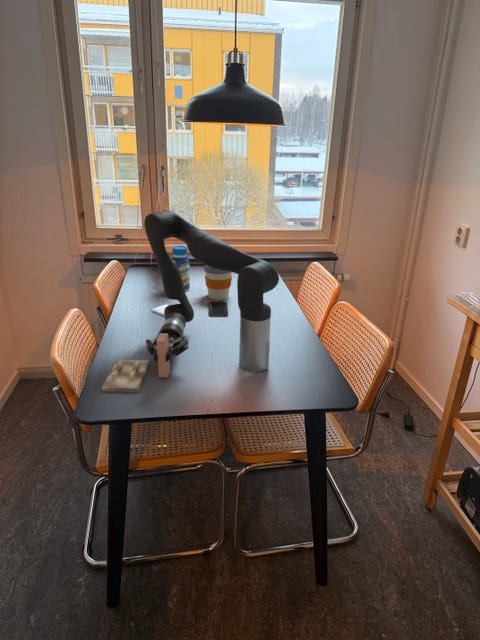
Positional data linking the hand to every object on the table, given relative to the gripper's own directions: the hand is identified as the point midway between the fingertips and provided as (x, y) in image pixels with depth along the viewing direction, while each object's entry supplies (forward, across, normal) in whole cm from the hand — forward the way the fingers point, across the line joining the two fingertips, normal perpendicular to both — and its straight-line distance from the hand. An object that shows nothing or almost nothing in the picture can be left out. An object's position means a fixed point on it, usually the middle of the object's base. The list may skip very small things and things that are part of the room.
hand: (161, 358), depth 122 cm
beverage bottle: (-81, -6, +8) cm, 82 cm away
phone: (-57, +13, +8) cm, 59 cm away
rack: (-2, -11, +8) cm, 14 cm away
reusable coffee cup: (-73, +12, +8) cm, 74 cm away
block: (-3, 0, +6) cm, 7 cm away
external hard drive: (-53, -7, +8) cm, 54 cm away
